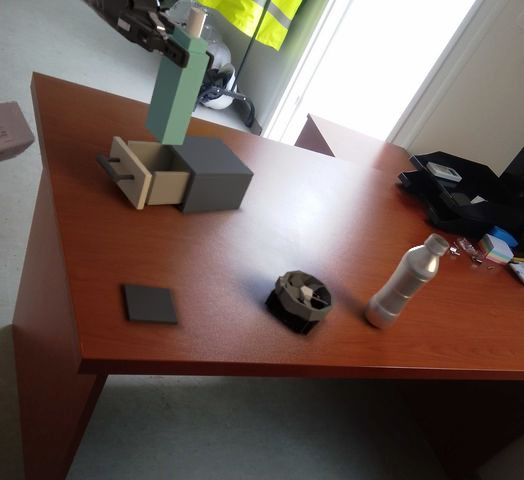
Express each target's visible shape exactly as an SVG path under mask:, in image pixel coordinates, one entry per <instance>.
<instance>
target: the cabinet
mask: <svg viewBox="0 0 524 480" xmlns="http://www.w3.org/2000/svg"><path fill="white" fill-rule="evenodd" d="M157 142H159V141H158V140H157ZM166 145H167V144H166ZM167 146H168V147H169V148H170V149H171V151H172V152H173V153H174V154H175V155H176V156H177V157H178V158H179V160H180V161H181V162H182V163H183V164H184V165H185V166H186V167H187V169H188V170H189V171H190V172H191V173H192V174H193V175H192V178H191V181H190V184H189V187H188V190H187V193H186V196H185V199H184V202H183V203H178V204H175V206H176V207H177V208H178V209H179V211H180V212H181V213H182V214H187V213H188V214H189V213H203V212H219V211H221V212H222V211H234V210H239V209H240V207H241V204H242V202H243V200H244V198H245V196H246V193H247V191H248V189H249V188H250V187H249V186H250V185H251V182H252V180H253V177H254V175H255V173H254V172H253V171H252V169H251V168H249V166H248V165H247V164H246V163H244V161H243V160H242V159H241V158H240V157H239V156H238V155H237V154H236V153H235V152H234V151H233V150H232V149H231V148H230V147H229V146H228V145H227V144H226V143H225V142H224V140H222V139H221V137H215V136H203V135H190V134H185V137H184V141H183V144H182V145H167Z"/></svg>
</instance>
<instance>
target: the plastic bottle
mask: <svg viewBox="0 0 524 480" xmlns="http://www.w3.org/2000/svg"><path fill="white" fill-rule="evenodd" d="M449 249H450V244H449V242H448V241H447V240H446V239H445V238H444V237H442V236H441V235H439V234H437V233H432V234H430V235H429V237H428V238H427V239H426V240H425V241H424V243H423V245H420V246H419V245H418V246H416V247H413V248H411V249H409V250H408V251H406V252H405V253H404V255H403V256H402V258H401V260H400V261H399V263H398V265H397V267H396V269H395V270H394V272H393V273H392V275H391V276H390V277H389V278H388V280H387V282H386V283H385V284H384V285H383V286H382V287H381V288H380V289H379V290H378V291H377V292H376V293H375V294H373V295H372V296H371V297H370V298H369V299H368V300H367V302H366V304H365V306H364V316H365V318H366V320H367V321H368V322H369V323H370V324H371V325H373V326H374V327H376V328H378V329H388V328H390V327H391V326H392V325H394V324H395V323H396V322H397V320H398V319H399V318H400V316H401V313H402V311H403V310H404V308H405V307H406V306H407V304H408V303H409V301H410V300H412V298H413V297H414V296H415V295H417V293H418V292H419V291H420V290H421V289H423V287H424V286H426V284H428V283H429V282H431V280H432V279H433V278H434V277H435V276H436V275H437V273H438V271H439V265H440V257H443V256H444V255H445V253H446V252H447V250H449Z"/></svg>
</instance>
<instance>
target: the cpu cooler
mask: <svg viewBox="0 0 524 480" xmlns="http://www.w3.org/2000/svg"><path fill="white" fill-rule="evenodd" d="M264 305H265V306H266V310H268V312H269V313H271V314H272V315H274V316H275V317H276V318H278V320H280V321H281V322H282V323H284V324H285V325H286V326H287V327H289V328H290V329H291V330H292V331H293V332H295V333H296V334H303V335H304V336H305V337H306V336H307V335H308V334H309V333H310V332H311V331H312V330H313V329H314V328H315V327H316V326H317V325H318V324H319V323H320V322H321V321H324V320H325V319H326V317H327V316H328V315H329V313H330V312H331V311H332V310H333V309H334V305H335V297H334V294H332V292H331V290H330V288H329V286H328V285H327V284H326V283H325V282H324V281H321V280H320V279H318V278H317V277H315V276H314V275H312V274H310V273H307V272H304V271H302V270H299V269H297V270H290V271H286V272H285V273H284V274H283V275H282V276H281V275H279V276H278V278H277V279H276V281H275V282H274V289H272V290H271V291H270V293H269V295H268V296H267V298H266V300H265V301H264Z"/></svg>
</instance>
